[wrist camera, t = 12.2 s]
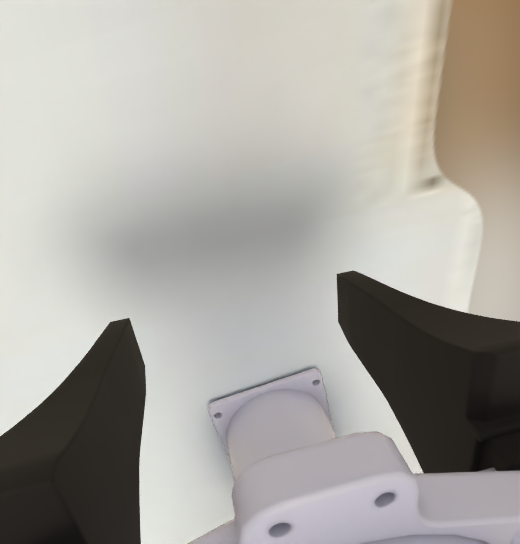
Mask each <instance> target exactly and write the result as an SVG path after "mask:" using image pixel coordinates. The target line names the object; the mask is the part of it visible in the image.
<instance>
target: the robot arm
mask: <svg viewBox="0 0 520 544" xmlns="http://www.w3.org/2000/svg"><path fill="white" fill-rule="evenodd" d="M337 294H338V322H339V324H340V326H341V328H342V330H343V333H344V335H345V337H346V339H347V341H348V343H349V344H350V346H351V347H352V349H353V351H354V352H355V353H356V355H357V356H358V358H359V359H360V361H361V362H362V364H363V365H364V367H365V368H366V370H367V371H368V372H369V374H370V375H371V377H372V378H373V380H374V381H375V383H376V384H377V386H378V387H379V388H380V390H381V391H382V393H383V395H384V396H385V398H386V399H387V401H388V403H389V405H390V407H391V409H392V410H393V412H394V414H395V416H396V418H397V420H398V422H399V423H400V425H401V427H402V429H403V431H404V433H405V435H406V437H407V439H408V441H409V443H410V445H411V447H412V449H413V451H414V453H415V456H416V458H417V460H418V462H419V464H420V466H421V468H422V470H423V472H424V473H423V474H413V473H412V472H411V470H410V468H409V467H408V465H407V463H406V462H405V460H404V458H403V457H402V455H401V453H400V452H399V450H398V448H397V447H396V445H395V444H394V442H393V440H392V439H391V438H389V437H387V436H385V435H383V434H381V433H379V432H361V433H354V434H350V435H346V436H342V437H339V438H336V436H335V434H334V430H333V426H332V421H331V416H330V412H329V407H328V402H327V398H326V393H325V389H324V384H323V379H322V375H321V373H320V371H319V370H318V369H316V368H313V369H310V370H307V371H304V372H301V373H298V374H295V375H292V376H289V377H286V378H283V379H280V380H277V381H274V382H271V383H268V384H265V385H262V386H259V387H256V388H253V389H250V390H247V391H244V392H241V393H238V394H235V395H232V396H229V397H226V398H223V399H220V400H217V401H214V402H212V403H210V404H209V406H208V411H209V414H210V417H211V419H212V421H213V424H214V426H215V428H216V431H217V433H218V435H219V438H220V440H221V442H222V445H223V447H224V449H225V452H226V454H227V456H228V459H229V461H230V463H231V466H232V471H233V477H234V486H233V492H232V499H233V506H234V512H235V519H233V520H231V521H229V522H227V523H225V524H223V525H221V526H219V527H218V528H216V529H214V530H212V531H210V532H208V533H206V534H204V535H202V536H200V537H199V538H197V539H195V540H193V541H191V542H189V543H187V544H520V322H517V321H509V320H502V319H495V318H489V317H483V316H478V315H473V314H469V313H464V312H460V311H456V310H452V309H449V308H445V307H442V306H438V305H435V304H432V303H429V302H426V301H423V300H421V299H418V298H415V297H413V296H410V295H408V294H405V293H403V292H400V291H398V290H396V289H394V288H391V287H389V286H387V285H385V284H382V283H380V282H378V281H376V280H374V279H372V278H370V277H367V276H365V275H363V274H361V273H358V272H356V271H349V272H344V273H340V274H337ZM314 380H317V381H315V382H313V381H314ZM145 397H146V378H145V365H144V361H143V358H142V355H141V352H140V349H139V346H138V343H137V340H136V337H135V334H134V331H133V328H132V325H131V322H130V319H129V318H127V319H123V320H118V321H113V322H110V323H109V325H108V326H107V327H106V329H105V330H104V331H103V333H102V334H101V335H100V337H99V338H98V340H97V341H96V342H95V344H94V345H93V346H92V348H91V349H90V350H89V352H88V353H87V354H86V355H85V357H84V358H83V359H82V361H81V362H80V363H79V364H78V365H77V366H76V367H75V369H74V370H73V371H72V372H71V373H70V374H69V376H68V377H67V378H66V379H65V380H64V381H63V382H62V383H61V385H60V386H59V387H58V388H57V389H56V390H55V391H54V392H53V393H52V394H51V395H50V396H49V397H47V398H46V399H45V400H44V401H43V402H42V403H41V404H40V405H39V406H38V407H37V408H35V409H34V410H33V411H32V412H31V413H29V414H28V415H27V416H26V417H25V418H23V419H22V420H21V421H20V422H19V423H17V424H16V425H15V426H14V427H12V428H11V429H10V430H8V431H7V432H6V433H4V434H3V435H2V436H0V544H141V539H140V506H139V457H140V445H141V436H142V426H143V417H144V407H145ZM216 413H219V414H216Z"/></svg>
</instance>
